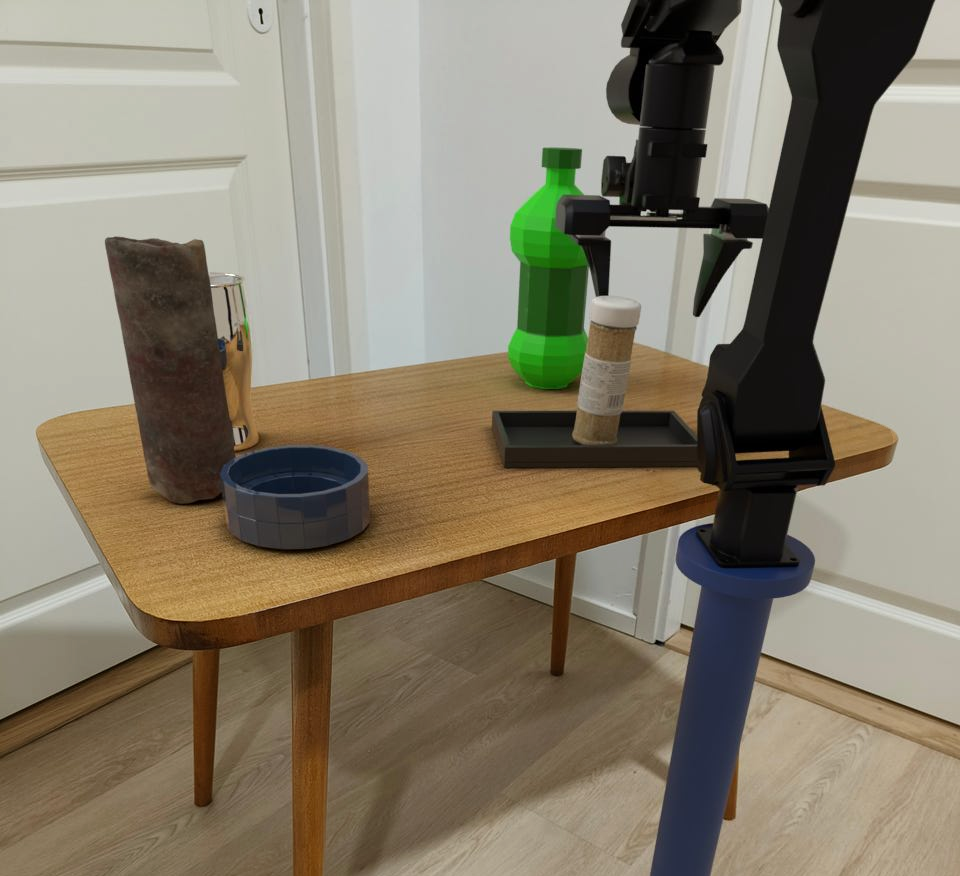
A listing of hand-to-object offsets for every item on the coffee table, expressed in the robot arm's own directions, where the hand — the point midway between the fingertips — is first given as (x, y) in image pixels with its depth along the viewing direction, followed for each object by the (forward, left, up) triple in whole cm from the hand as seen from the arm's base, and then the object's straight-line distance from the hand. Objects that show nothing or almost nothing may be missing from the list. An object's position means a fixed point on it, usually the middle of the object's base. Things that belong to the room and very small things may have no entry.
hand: (649, 315), depth 86 cm
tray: (-3, +5, -12) cm, 13 cm away
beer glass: (-1, +41, -12) cm, 43 cm away
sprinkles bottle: (-3, +5, -12) cm, 13 cm away
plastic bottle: (+20, +6, -12) cm, 24 cm away
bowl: (-21, +32, -12) cm, 40 cm away
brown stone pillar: (-13, +42, -12) cm, 46 cm away
